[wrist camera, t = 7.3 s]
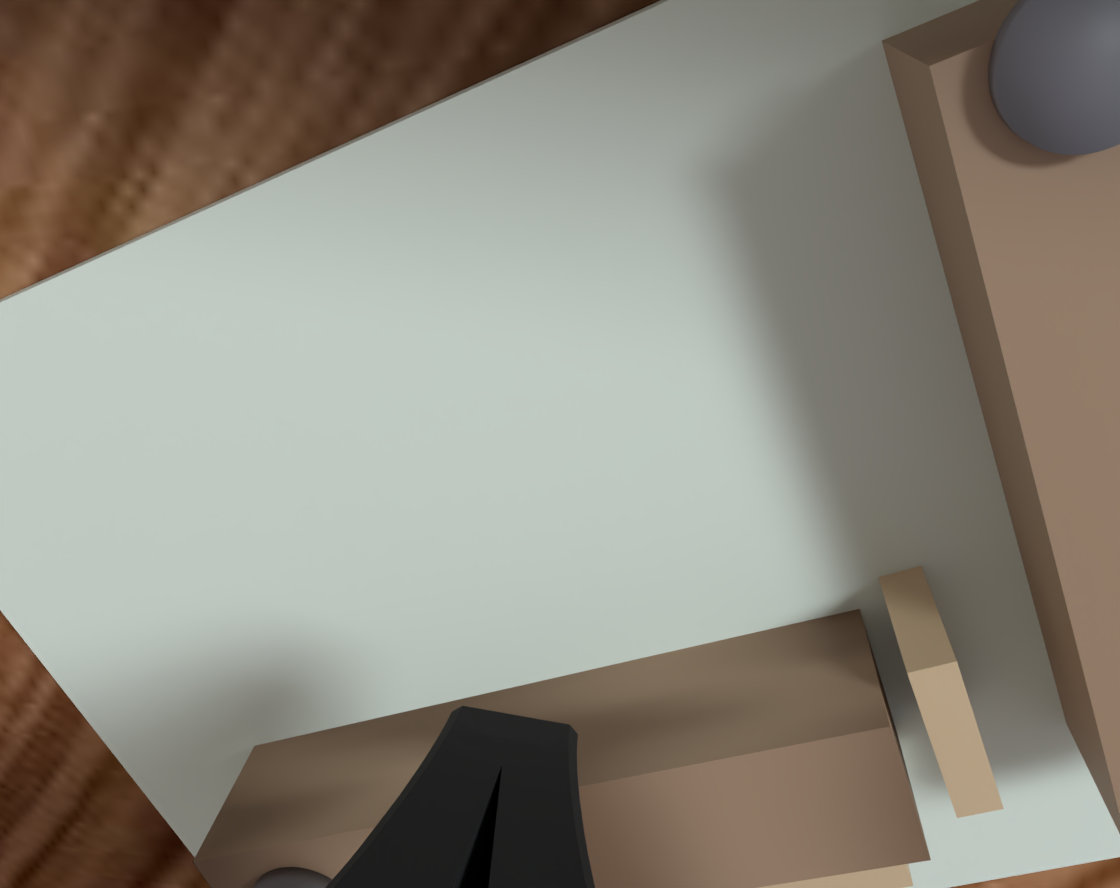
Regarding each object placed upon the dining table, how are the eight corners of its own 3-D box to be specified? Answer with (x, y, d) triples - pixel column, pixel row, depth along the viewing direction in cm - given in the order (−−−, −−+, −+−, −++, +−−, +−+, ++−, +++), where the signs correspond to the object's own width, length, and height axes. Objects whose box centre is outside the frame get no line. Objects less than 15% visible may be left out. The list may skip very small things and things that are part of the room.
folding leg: (318, 842, 21) (262, 980, 18) (254, 745, 20) (184, 876, 17) (896, 731, 18) (934, 875, 15) (859, 609, 17) (893, 741, 14)
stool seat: (1329, 771, 18) (1489, 977, 15) (321, 962, 24) (257, 1143, 21) (1193, -241, 12) (1417, -319, 8) (-136, 360, 18) (-346, 469, 14)
